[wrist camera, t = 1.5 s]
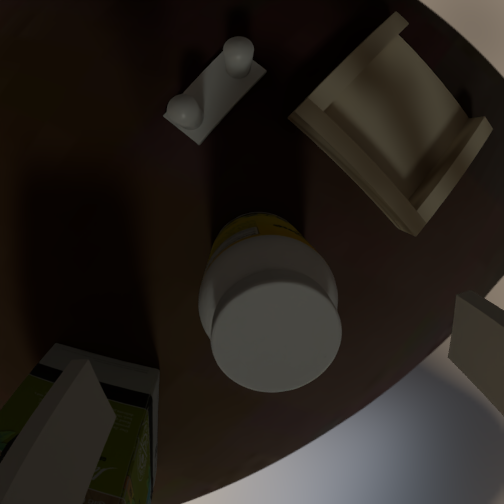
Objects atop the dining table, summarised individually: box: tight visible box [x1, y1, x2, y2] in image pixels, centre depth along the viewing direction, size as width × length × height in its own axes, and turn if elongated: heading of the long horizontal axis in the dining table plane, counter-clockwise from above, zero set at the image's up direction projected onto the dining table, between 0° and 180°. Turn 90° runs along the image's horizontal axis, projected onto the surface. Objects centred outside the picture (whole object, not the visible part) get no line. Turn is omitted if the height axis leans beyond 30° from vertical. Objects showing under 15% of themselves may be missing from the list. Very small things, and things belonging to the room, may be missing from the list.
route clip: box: [163, 36, 267, 145], centre depth 16 cm, size 3×6×4 cm, turn 139°
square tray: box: [288, 12, 493, 237], centre depth 18 cm, size 11×11×3 cm
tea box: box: [0, 343, 160, 504], centre depth 18 cm, size 15×10×15 cm
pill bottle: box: [198, 212, 342, 392], centre depth 16 cm, size 6×6×11 cm
